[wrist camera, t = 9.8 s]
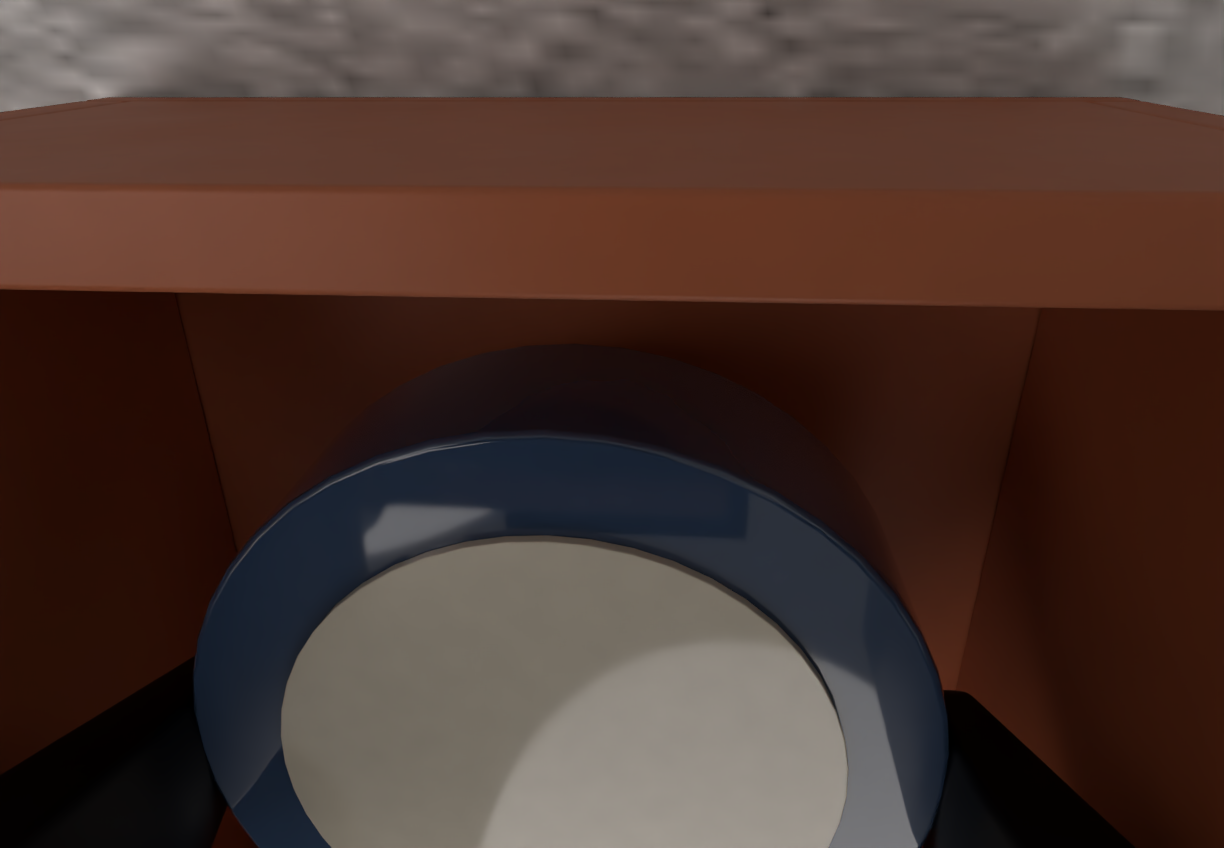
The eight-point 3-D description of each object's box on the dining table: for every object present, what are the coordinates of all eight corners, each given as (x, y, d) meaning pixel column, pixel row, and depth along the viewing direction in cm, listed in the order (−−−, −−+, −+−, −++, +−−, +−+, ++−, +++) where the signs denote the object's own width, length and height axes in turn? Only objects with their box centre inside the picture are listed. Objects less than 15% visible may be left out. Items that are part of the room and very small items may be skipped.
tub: (1123, 96, 9) (1689, 195, 4) (946, 832, 14) (1094, 1291, 9) (107, 97, 10) (-504, 180, 5) (281, 790, 14) (72, 1190, 10)
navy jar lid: (950, 348, 8) (1032, 453, 6) (859, 857, 11) (895, 1034, 9) (226, 334, 8) (91, 426, 6) (332, 823, 11) (262, 984, 9)
